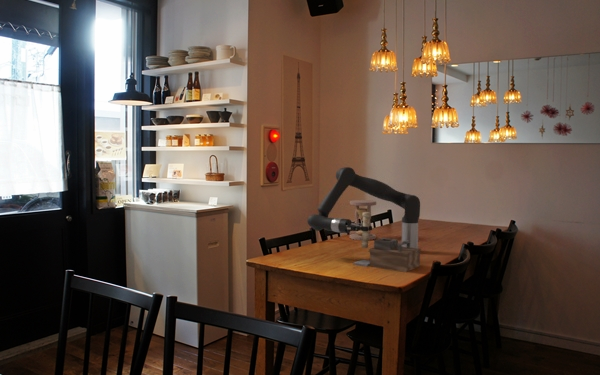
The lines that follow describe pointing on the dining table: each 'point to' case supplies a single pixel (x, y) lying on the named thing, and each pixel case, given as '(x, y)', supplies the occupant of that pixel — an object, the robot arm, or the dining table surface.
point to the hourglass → (359, 211)
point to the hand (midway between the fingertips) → (370, 228)
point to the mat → (362, 263)
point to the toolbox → (394, 255)
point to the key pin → (365, 233)
